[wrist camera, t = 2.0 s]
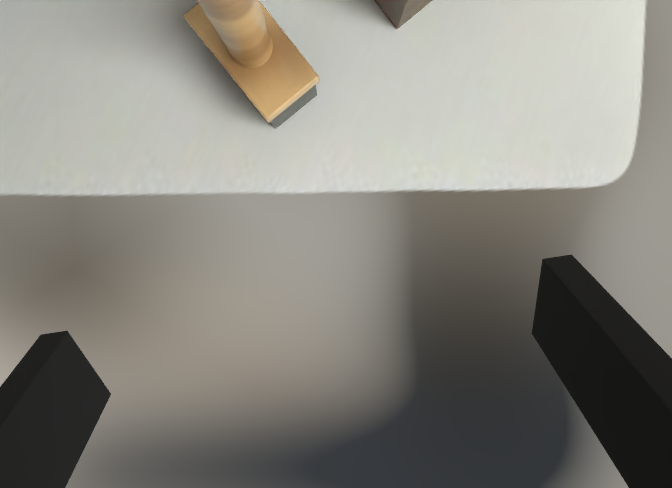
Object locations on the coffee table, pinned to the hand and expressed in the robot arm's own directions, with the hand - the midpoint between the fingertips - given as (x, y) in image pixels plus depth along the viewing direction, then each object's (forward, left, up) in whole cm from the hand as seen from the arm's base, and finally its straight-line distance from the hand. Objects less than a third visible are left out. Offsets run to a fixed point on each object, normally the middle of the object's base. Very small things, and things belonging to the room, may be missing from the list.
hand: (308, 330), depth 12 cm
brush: (-14, +5, -19) cm, 25 cm away
